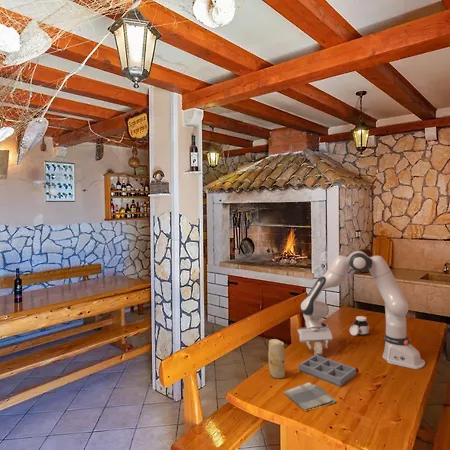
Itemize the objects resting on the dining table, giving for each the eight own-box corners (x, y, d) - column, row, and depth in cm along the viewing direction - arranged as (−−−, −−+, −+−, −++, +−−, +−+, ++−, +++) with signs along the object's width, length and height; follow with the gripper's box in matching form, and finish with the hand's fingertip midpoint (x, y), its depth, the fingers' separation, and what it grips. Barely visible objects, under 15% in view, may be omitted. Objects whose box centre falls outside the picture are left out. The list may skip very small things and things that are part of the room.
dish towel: (305, 413, 162) (305, 407, 162) (283, 394, 179) (283, 388, 178) (337, 403, 170) (337, 397, 170) (314, 386, 186) (314, 380, 186)
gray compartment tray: (355, 375, 196) (355, 368, 195) (340, 386, 184) (340, 379, 183) (315, 361, 213) (315, 354, 213) (299, 370, 202) (299, 364, 201)
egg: (323, 357, 218) (323, 341, 218) (319, 359, 215) (319, 344, 214) (316, 354, 222) (316, 339, 221) (312, 357, 218) (312, 342, 218)
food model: (287, 376, 196) (287, 340, 195) (281, 381, 191) (281, 344, 189) (271, 371, 202) (271, 336, 200) (265, 376, 196) (265, 340, 195)
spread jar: (369, 333, 255) (369, 317, 254) (366, 338, 246) (366, 321, 245) (352, 330, 262) (352, 314, 261) (348, 335, 252) (348, 319, 251)
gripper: (298, 325, 224) (302, 347, 214) (330, 324, 225) (336, 345, 216) (296, 330, 228) (300, 351, 219) (327, 328, 230) (333, 349, 221)
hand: (318, 348), depth 218 cm, fingers open, 8 cm apart
